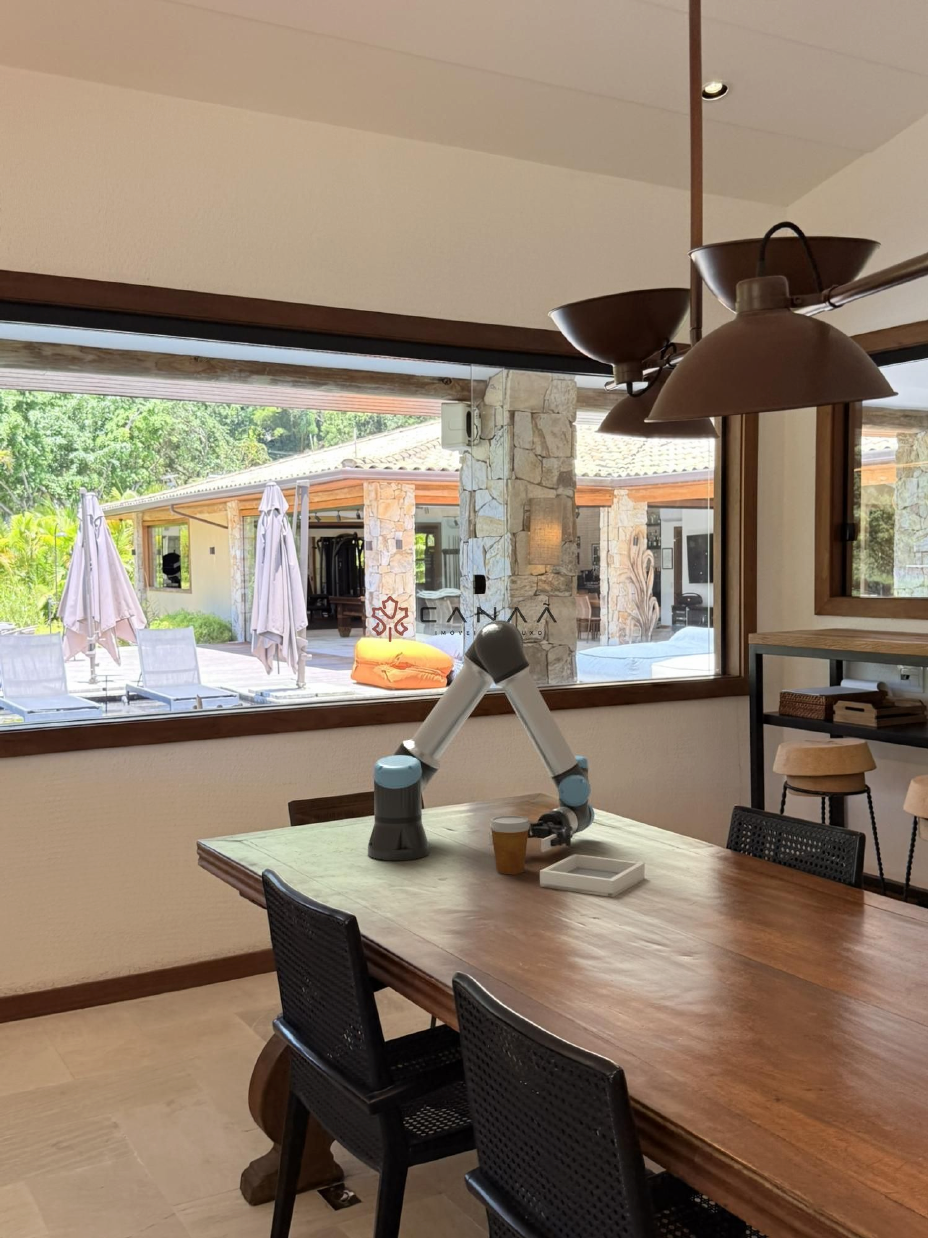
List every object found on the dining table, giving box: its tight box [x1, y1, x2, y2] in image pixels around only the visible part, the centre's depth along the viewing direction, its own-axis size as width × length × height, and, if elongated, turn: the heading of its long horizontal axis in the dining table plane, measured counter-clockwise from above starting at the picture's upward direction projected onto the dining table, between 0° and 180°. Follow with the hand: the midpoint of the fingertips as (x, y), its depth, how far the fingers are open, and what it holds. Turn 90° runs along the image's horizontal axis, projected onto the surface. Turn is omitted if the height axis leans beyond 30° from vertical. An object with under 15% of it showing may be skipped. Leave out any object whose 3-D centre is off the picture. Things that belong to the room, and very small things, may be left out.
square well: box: [539, 853, 646, 898], centre depth 257 cm, size 17×17×4 cm
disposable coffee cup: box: [488, 815, 530, 875], centre depth 268 cm, size 10×10×12 cm
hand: (516, 842), depth 269 cm, fingers open, 13 cm apart
